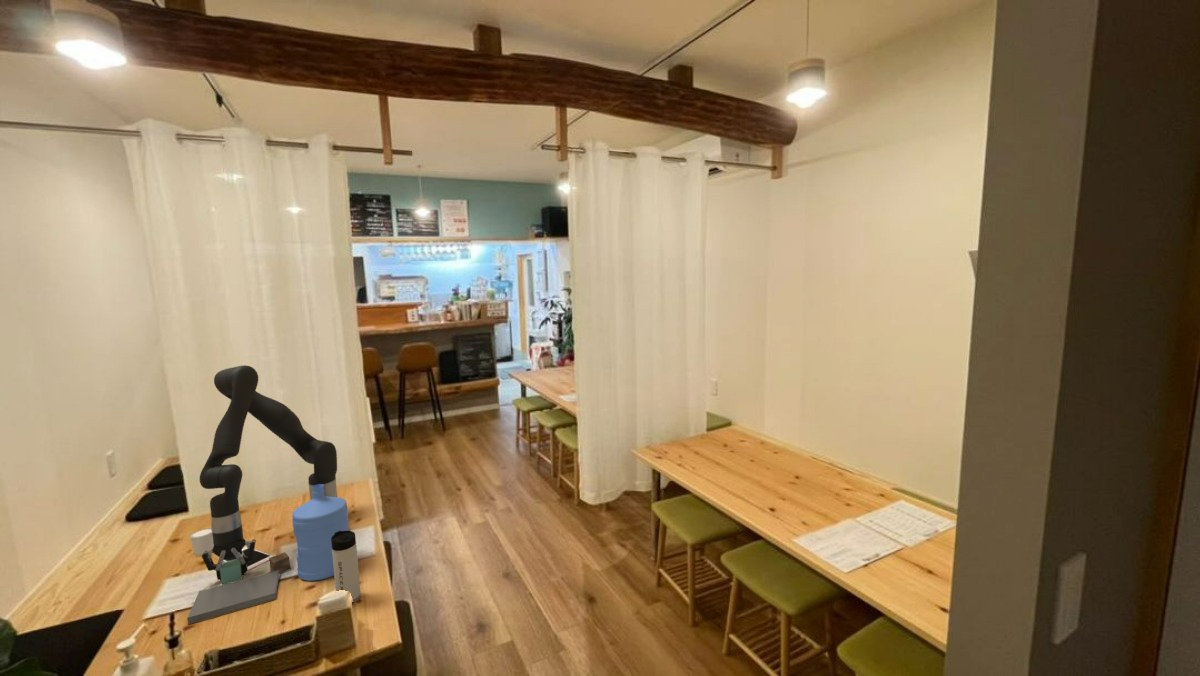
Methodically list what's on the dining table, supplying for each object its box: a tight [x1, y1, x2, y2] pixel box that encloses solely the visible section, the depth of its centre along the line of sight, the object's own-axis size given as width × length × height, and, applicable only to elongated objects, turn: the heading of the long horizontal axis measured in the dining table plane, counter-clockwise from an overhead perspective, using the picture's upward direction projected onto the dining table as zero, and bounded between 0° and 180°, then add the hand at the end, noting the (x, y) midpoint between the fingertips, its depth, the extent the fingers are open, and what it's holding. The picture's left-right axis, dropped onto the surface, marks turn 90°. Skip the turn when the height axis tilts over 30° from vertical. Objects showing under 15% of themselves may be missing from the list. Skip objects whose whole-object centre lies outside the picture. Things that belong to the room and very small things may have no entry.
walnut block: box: [268, 552, 291, 575], centre depth 156 cm, size 4×4×4 cm
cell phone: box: [217, 545, 274, 572], centre depth 164 cm, size 9×18×1 cm, turn 64°
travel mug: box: [331, 530, 362, 603], centre depth 139 cm, size 6×7×20 cm
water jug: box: [291, 484, 351, 582], centre depth 156 cm, size 16×16×28 cm
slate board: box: [186, 570, 280, 625], centre depth 142 cm, size 20×14×2 cm
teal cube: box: [220, 559, 244, 585], centre depth 153 cm, size 5×5×5 cm
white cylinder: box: [189, 527, 214, 557], centre depth 170 cm, size 7×7×7 cm
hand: (232, 576), depth 153 cm, fingers closed on teal cube, 5 cm apart
